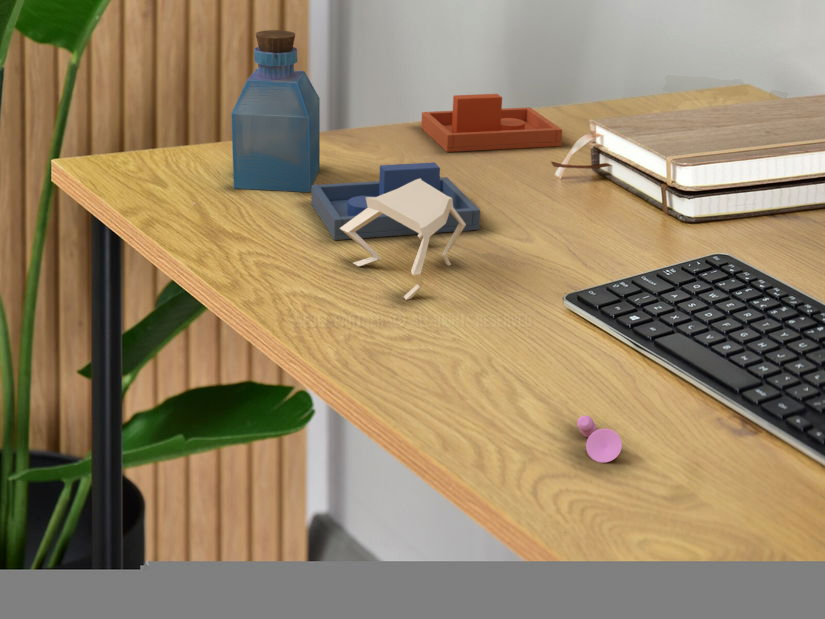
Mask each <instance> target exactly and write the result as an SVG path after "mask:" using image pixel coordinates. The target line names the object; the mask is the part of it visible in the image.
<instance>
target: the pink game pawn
mask: <svg viewBox="0 0 825 619" xmlns="http://www.w3.org/2000/svg"><path fill="white" fill-rule="evenodd" d="M576 425H577V428H578V430H579V432H580V433H581V434H582V436H584V437H585V438H587V439H586V444H585V449H586V453H587V456H588V457H589V458H591V459H592V460H593V461H596V462H597V463H609V462H611V461H613V460H615V459H616V458H617V457H618V456H619V455H620V453H621V451H622V446H623V443H622V442H623V441H622V438H621V436H620V435H619V433H618V432H616V431H615V430H613V429H610V428H599V429H597V426H596V423H595V421H594V419H593V418H592V417H591V416H589V415H581V416H580V417H579V418H578V419H577V421H576Z"/></svg>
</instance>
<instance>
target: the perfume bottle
mask: <svg viewBox="0 0 825 619" xmlns="http://www.w3.org/2000/svg"><path fill="white" fill-rule="evenodd" d="M255 38H256V41H257V42H256V43H257V46H256V47H254V49H253V55H254V63H256V64H257V68H255V70H254V71H253V72H252V73H251V75H250V76H249V77H248V78H247V80H246V81H245V83H244V85H243V88H242V89H241V92H240V93H239V96H238V99H237V100H236V103H235V105H234V107H233V108H232V111H231V114H230V116H231V144H232V145H231V147H232V148H231V149H232V150H231V151H232V176H233V178H232V181H233V189H240V190H257V191H258V190H261V191H279V192H300V193H311V186H312V185H314V183H315V181H316V179H317V176H318V174H319V172H320V168H321V166H320V165H321V164H320V162H321V161H320V160H321V157H320V155H321V154H320V150H321V147H320V145H321V143H320V142H321V140H320V139H321V138H320V137H321V136H320V135H321V134H320V132H321V131H320V128H321V127H320V125H321V123H320V116H321V115H320V112H321V108H320V104H321V103H320V102H321V101H320V100H321V99H320V96H319V94H318V93H317V91H316V89H315V88H314V86H313V83H312V82H311V81H310V80H311V79H309V77H308V75H307V74H306V71H305V70H295V64H297V63H298V48H296V47H294V44H295V39H296V33H295V32H293V31H290V30H283V29H282V30H281V29H269V30H260V31H256V32H255Z"/></svg>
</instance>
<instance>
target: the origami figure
mask: <svg viewBox="0 0 825 619" xmlns="http://www.w3.org/2000/svg"><path fill="white" fill-rule="evenodd" d="M366 202H367V206H368V208H366V209H365V210H364V211H362V212H361V213H360V214H358V215H357V216H356V217H354V218H353V219H351V220H350V221H349V222H347V223H346V224H345V225H343V226H342V227H341V228H340V229H341V230H342V231H343V232H344V233H346V234H347V235H348V236H349V237H350V238H352V239H351V240H353V241H354V242H355V243H356V244H358V245H359V246H360V247H361V248H362V249H363V250H365V251H366V252H367V253H369V254H370V256H369V257H367V258H364V259H360V260H357V261H354V262H353V265H355V266H356V267H363V266H366V265H369V264H371V263H374V262H377V261H380V260H383V258H382V257H381V256H380V255H379V254H378V253H377V252H376V251H375V250H374V249H373V248H372V247H371V246H370V245H369V244H368V243H367V242H366V241H365V240H364V238H361V237H360V236H359V235H358V234H357V233H356V232H355V231H357V230H359V229H360V228H362V227H363V226H365V225H366V224H368V223H369V222H371V221H372V220H374V219H376V218H377V217H379V216H380V215H382V214H385V215H387V216H389V217H391V218H392V219H394V220H396V221H398V222H399V223H401V224H403V225H405V226H407V227H408V228H410V229H412V230H414V231H416V232H417V233H419V234H417V238H418V239H419V240H420V244H419V247H418V250H417V253H416V255H415V257H414V258H415V259H414V260H413V264H412V267H411V269H410V273H411V276H412V277H413V279H414V281H415V283H416V285H415V286H413V287H412V288H411V289H410V290H409V291H408V292H406V294H404V296H403V299H405V301H406V300H411V299H412V298H414V296H415V295H416V294H417V293H418V292H419V291H420V290H421V288H422V287H423V286H424V284H423V279H422V276H421V273H422V270H423V267H424V263H425V260H426V256H427V252H428V248H429V244H430V239H431V237H432V236H433V235H434V234H436V233H435V232H436V231H437V230H439V229H440V228H441V227H442V226H443V225H445V224H446V221H447V218H448V215H449V212H450V213H451V214H452V215H453V216H454V217H455V219H456V220H457V221H458V222H459V224H458V226H457V228H456V229H455V231H454V232H452V234H451V236H450V239H449V241H448V242H447V245H446V246H445V248H444V250H443V252H442V254H441V255H442V258H443V260H444V262H445V264H446V265H447V266H451V265H452V263H451V262H450V260H449V257H448V255H447V254H448V253H449V251H450V250H451V248H452V247H453V245H454V244H455V243H456V241H457V239H458V238H459V237H460V235H461V233H462V232H463V231H462V230H463V229H464V227H465V226H466V224H465V222H464V221H463V220H462V218H461V217H460V216H459V214H458V213H457V212H456V210H455V209H454V208H453V200H452V198H451V197H449V196H447V195H445V194H443V193H442V192H440V191H438V190H437V189H435V188H434V187H432V186H430V185H429V184H427V183H425V182H424V181H422V180H421V178H420V179H417V180H414V181H412V182H410V183H408V184H406V185H404V186H402V187H400V188H398V189H396V190H393V191H390V192H388V193H385V194H383V195H380V196H378V197H366Z"/></svg>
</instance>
